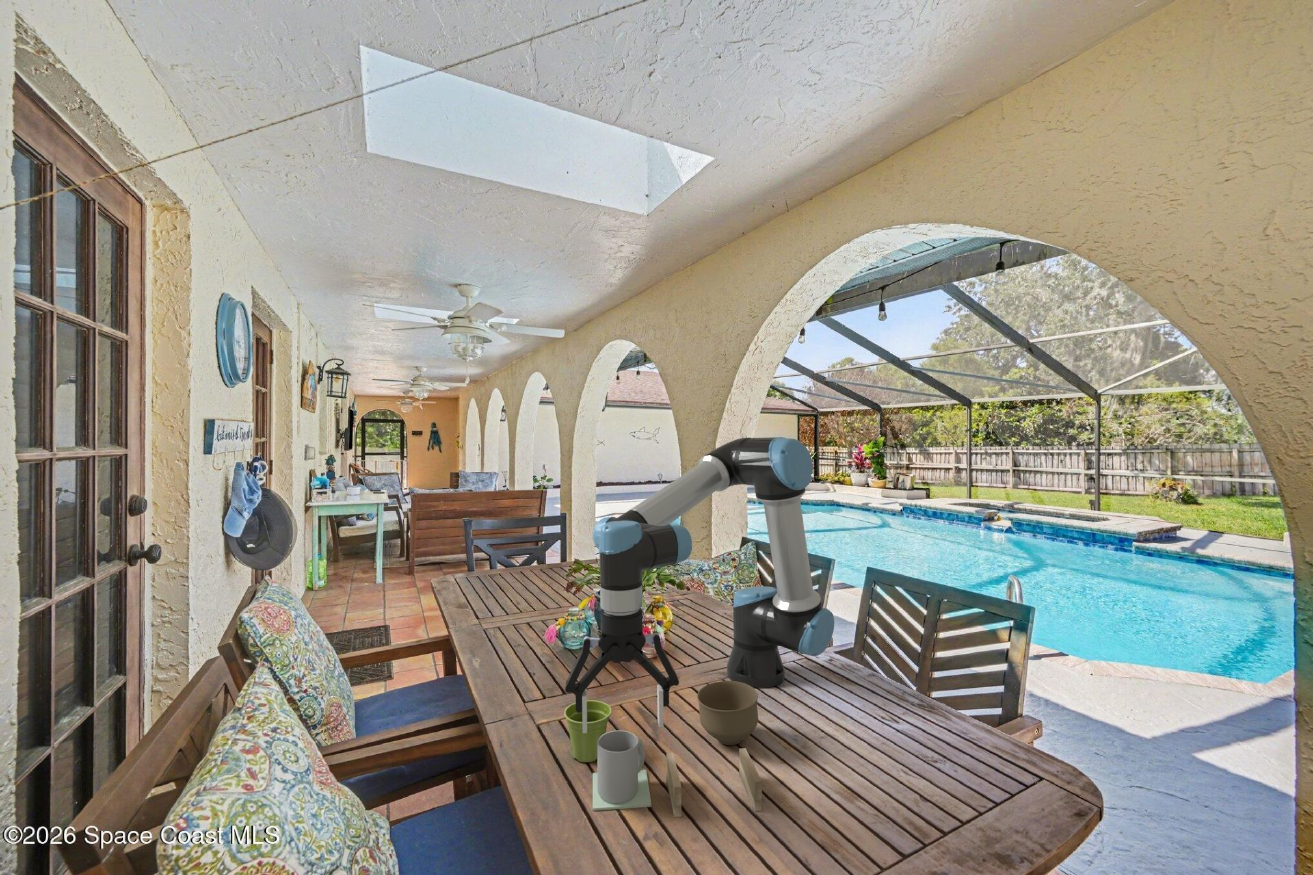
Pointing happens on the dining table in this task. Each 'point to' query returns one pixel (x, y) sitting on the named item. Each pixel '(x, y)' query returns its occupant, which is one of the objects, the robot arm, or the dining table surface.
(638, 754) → the cup
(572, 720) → the plant pot
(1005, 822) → the dining table surface
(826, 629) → the robot arm
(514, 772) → the dining table surface
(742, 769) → the holder rails
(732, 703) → the bowl
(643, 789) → the mat
